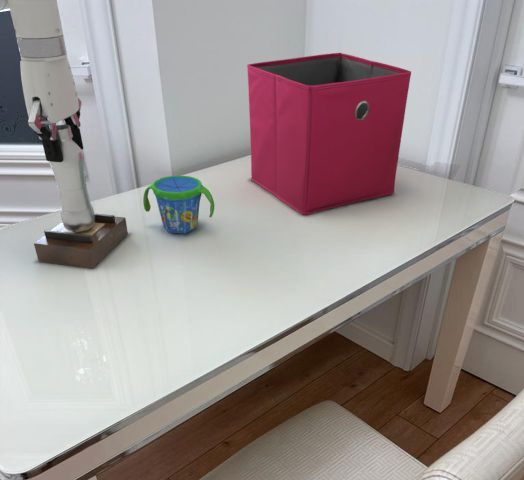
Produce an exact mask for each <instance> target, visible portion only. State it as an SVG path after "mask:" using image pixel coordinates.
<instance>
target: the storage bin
mask: <svg viewBox="0 0 524 480" xmlns="http://www.w3.org/2000/svg"><path fill="white" fill-rule="evenodd" d="M246 68H247V87H248V90H247V91H248V109H249V110H248V111H249V113H248V114H249V134H250V135H249V136H250V137H249V138H250V139H249V140H250V169H251V170H250V172H251V175H250V176H251V177H250V180H251V181H252V182H254V183H255V184H256V185H259V186H260V187H261V188H262V189H264V190H266V191H267V192H269V193H271V194H272V195H273V196H274V197H276V198H277V199H279V200H280V201H281V202H283V203H284V204H286V205H287V206H288V207H290V208H291V209H293V210H294V211H296V212H298V213H299V214H300V215H302V216H304V217H305V216H309V215H311V214H315V213H318V212H321V211H326V210H330V209H334V208H338V207H342V206H347V205H351V204H354V203H359V202H363V201H368V200H372V199H377V198H381V197H386V196H390V195H394V194H395V185H396V178H397V177H396V176H397V170H398V163H399V155H400V149H401V143H402V136H403V130H404V129H403V128H404V123H405V117H406V116H405V115H406V110H407V109H406V108H407V102H408V95H409V89H410V83H411V78H412V77H411V76H412V71H411V70H408V69H405V68H402V67H399V66H394V65H391V64H387V63H383V62H379V61H374V60H369V59H366V58H364V57H363V58H362V57H359V56H355V55H351V54H348V53H343V52H331V53H324V54H323V53H322V54H316V55H307V56H298V57H293V58H286V59H277V60H276V59H275V60H268V61H262V62H253V63H247V65H246Z"/></svg>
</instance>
